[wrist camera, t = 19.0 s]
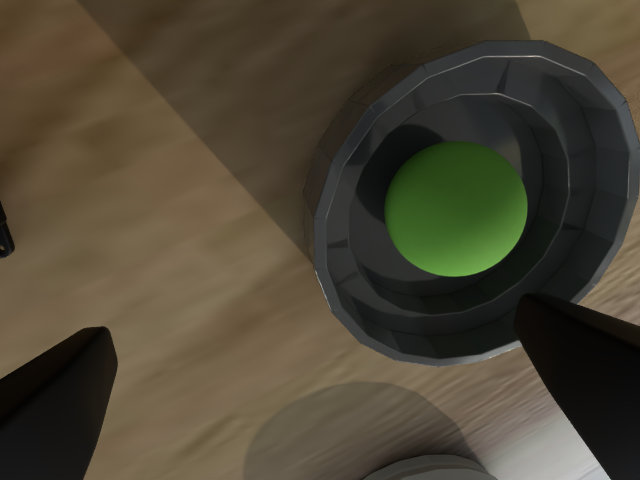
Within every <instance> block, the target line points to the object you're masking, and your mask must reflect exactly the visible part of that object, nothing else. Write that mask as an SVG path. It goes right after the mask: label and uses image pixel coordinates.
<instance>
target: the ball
mask: <svg viewBox="0 0 640 480" xmlns="http://www.w3.org/2000/svg"><path fill="white" fill-rule="evenodd" d="M384 216H385V223H386V227H387V231H388V233H389V236H390V238H391V240H392V242H393V244H394V245H395V247H396V248H397V249H398V251H399V252H400V253H401V254H402V255H403V256H404V257H405V258H406V259H407V260H408V261H409V262H411V263H412V264H413V265H415V266H417V267H419V268H420V269H422V270H425V271H427V272H430V273H433V274H437V275H442V276H456V277H457V276H467V275H471V274H475V273H478V272H481V271H484V270H486V269H488V268H490V267H492V266H493V265H495V264H496V263H498V262H499V261H501V260H502V259H503V258H504V257H505V256H506V255H507V254H508V253H509V252H510V251H511V250H512V249H513V248H514V246H515V245H516V243H517V242H518V240H519V238H520V236H521V234H522V232H523V229H524V226H525V223H526V218H527V196H526V192H525V188H524V185H523V183H522V180H521V178H520V176H519V175H518V173H517V171H516V170H515V169H514V168H513V166H512V165H511V164H510V163H509V162H508V161H507V160H506V159H505V158H504V157H503V156H501V155H500V154H498V153H497V152H496V151H494V150H492V149H490V148H488V147H486V146H483V145H480V144H477V143H472V142H466V141H449V142H443V143H439V144H435V145H432V146H430V147H427V148H425V149H423V150H421V151H419V152H418V153H416V154H415V155H413V156H412V157H411V158H410V159H408V160H407V161H406V162H405V163H404V164H403V165H402V166H401V167H400V169H399V170H398V171H397V173H396V174H395V176H394V177H393V179H392V181H391V183H390V185H389V188H388V191H387V194H386V198H385V206H384Z"/></svg>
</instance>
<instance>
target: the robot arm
mask: <svg viewBox="0 0 640 480" xmlns="http://www.w3.org/2000/svg"><path fill="white" fill-rule="evenodd" d="M6 219H7V218H6V215H5V213H4V210H3V207H2V204H1V202H0V245H1V246H3V247H4V250H1V249H0V258H5V257H7V256H8V255H10V254H11V253H12V252H14V249H15V246H14V242H13V240H12V237H11V234H10V232H9V229H8V226H7V224H6ZM513 327H514V331H515V334H516V336H517V337H518V339H519V341H520V343H521V344H522V346H523V348H524V350H525V351H526V353H527V355H528V357H529V358H530V360H531V362H532V363H533V365H534V367H535V369H536V370H537V372H538V374H539V376H540V377H541V379H542V381H543V382H544V384H545V386H546V387H547V389H548V391H549V392H550V394H551V395H552V397H553V398H554V400H555V401H556V403H557V404H558V405H559V407H560V408H561V410H562V411H563V412H564V414H565V415H566V417H567V418H568V420H569V421H570V422H571V424H572V425H573V427H574V428H575V429H576V431H577V432H578V434H579V435H580V436H581V438H582V439H583V441H584V442H585V444H586V445H587V446H588V448H589V449H590V451H591V452H592V453H593V455H594V456H595V458H596V459H597V461H598V462H599V463H600V465H601V466H602V468H603V469H604V470H605V472H606V473H607V475H608V476H609V478H610V479H611V480H640V326H637V325H635V324H632V323H629V322H626V321H623V320H620V319H617V318H614V317H612V316H609V315H606V314H603V313H600V312H597V311H594V310H592V309H589V308H586V307H583V306H580V305H577V304H574V303H572V302H569V301H566V300H563V299H560V298H557V297H554V296H551V295H549V294H546V293H543V292H530V293H524V294H522V295H521V297H520V298H519V302H518V306H517V310H516V314H515V318H514V322H513ZM117 367H118V361H117V356H116V352H115V348H114V345H113V341H112V337H111V333H110V331H109V329H108V328H106V327H104V326H101V327H89V328H83V329H82V330H80V331H78V332H77V333H75V334H73V335H72V336H70V337H69V338H67V339H65V340H64V341H62V342H60V343H59V344H57V345H55V346H54V347H52V348H51V349H49V350H47V351H46V352H44V353H42V354H41V355H39V356H38V357H36V358H34V359H33V360H31V361H29V362H28V363H26V364H24V365H23V366H21V367H20V368H18V369H16V370H15V371H13V372H11V373H10V374H8V375H7V376H5V377H3V378H2V379H0V480H83V479H84V476H85V474H86V471H87V468H88V466H89V463H90V461H91V458H92V456H93V453H94V450H95V447H96V445H97V442H98V438H99V435H100V432H101V428H102V424H103V421H104V417H105V413H106V409H107V406H108V402H109V398H110V395H111V391H112V387H113V383H114V380H115V376H116V372H117Z"/></svg>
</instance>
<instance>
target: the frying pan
mask: <svg viewBox="0 0 640 480" xmlns="http://www.w3.org/2000/svg"><path fill="white" fill-rule="evenodd" d="M363 480H498V479H496V478H495V477H494V476H493V475H491V474H490V473H489V472H488V471H486V470H485V469H484V468H483V467H481V466H480V465H479V464H477V463H476V462H475V461H473V460H470V459H466V458H463V457H459V456H456V455H423V456H419V457H414V458H410V459H406V460H401V461H397V462H395V463H393V464H391V465H389V466H387V467H384V468H382V469H380V470H378V471H376V472H374V473H371V474H370V475H369V476H367V477H366V478H365V479H363Z"/></svg>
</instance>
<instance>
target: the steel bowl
mask: <svg viewBox="0 0 640 480" xmlns="http://www.w3.org/2000/svg"><path fill="white" fill-rule="evenodd" d="M449 141H466V142H472V143H477V144H480V145H483V146H486V147H488V148H490V149H492V150H494V151H496V152H497V153H498V154H500V155H501V156H503V157H504V158H505V159H506V160H507V161H508V162H509V163H510V164H511V165H512V166H513V168H514V169H515V170H516V171H517V173H518V175H519V176H520V178H521V180H522V183H523V185H524V188H525V192H526V196H527V218H526V223H525V226H524V229H523V232H522V234H521V236H520V238H519V240H518V242H517V243H516V245H515V246H514V248H513V249H512V250H511V251H510V252H509V253H508V254H507V255H506V256H505V257H504V258H503V259H502V260H501V261H499V262H498V263H496V264H495V265H493V266H492V267H490V268H488V269H486V270H484V271H481V272H478V273H475V274H471V275H467V276H457V277H456V276H442V275H437V274H433V273H430V272H427V271H425V270H422V269H420V268H419V267H417V266H415V265H413V264H412V263H411V262H409V261H408V260H407V259H406V258H405V257H404V256H403V255H402V254H401V253H400V252H399V251H398V249H397V248H396V247H395V245H394V244H393V242H392V240H391V238H390V236H389V233H388V231H387V227H386V223H385V216H384V206H385V198H386V194H387V191H388V188H389V185H390V183H391V181H392V179H393V177H394V176H395V174H396V173H397V171H398V170H399V169H400V167H401V166H402V165H403V164H404V163H405V162H406V161H407V160H408V159H410V158H411V157H412V156H413V155H415V154H416V153H418V152H419V151H421V150H423V149H425V148H427V147H430V146H432V145H435V144H439V143H443V142H449ZM639 184H640V142H639V138H638V135H637V132H636V129H635V125H634V122H633V119H632V116H631V112H630V109H629V106H628V103H627V101H626V99H625V97H624V96H623V95H622V94H621V93H620V92H619V91H618V89H617V88H616V87H615V86H614V85H613V84H612V82H611V81H610V80H609V79H608V78H607V77H606V76H605V74H604V73H603V72H602V71H601V70H600V69H599V67H598V66H597V65H596V64H595V63H593V62H592V61H590V60H588V59H586V58H584V57H581V56H579V55H577V54H574V53H572V52H570V51H568V50H565V49H563V48H561V47H558V46H556V45H554V44H552V43H549V42H547V41H543V40H484V41H477V42H470V43H463V44H456V45H449V46H442V47H438V48H435V49H432V50H430V51H427V52H424V53H421V54H419V55H416V56H413V57H411V58H408V59H405V60H403V61H400V62H397V63H395V64H392V65H390V66H389V67H387V68H386V69H385V70H384V71H382V72H381V73H380V74H379V75H377V76H376V77H375V78H374V79H373V80H371V81H370V82H369V83H368V84H366V85H365V86H364V87H363V88H361V89H360V90H359V91H358V92H356V93H355V94H354V95H353V96H351V97H350V98H349V99H348V101H346V102H345V104H344V105H343V107H342V108H341V110H340V111H339V113H338V114H337V116H336V117H335V119H334V120H333V122H332V123H331V125H330V126H329V128H328V129H327V131H326V132H325V133H324V135H323V136H322V138H321V139H320V141H319V142H318V145H317V146H316V149H315V153H314V156H313V159H312V163H311V166H310V170H309V173H308V176H307V180H306V183H305V186H304V190H303V212H304V237H305V241H306V244H307V247H308V250H309V254H310V257H311V260H312V264H313V267H314V270H315V273H316V275H317V278H318V280H319V283H320V285H321V288H322V290H323V293H324V296H325V298H326V301H327V303H328V306H329V308H330V311H331V312H332V313H333V315H334V316H335V317H336V318H337V319H338V320H339V321H340V322H341V323H342V324H343V325H344V326H345V327H346V328H347V330H348V331H349V332H350V333H351V334H352V335H353V336H354V337H355V338H356V339H357V340H358V341H359V342H360V343H361V344H363V345H365V346H367V347H369V348H371V349H373V350H375V351H377V352H379V353H381V354H383V355H385V356H387V357H389V358H391V359H393V360H395V361H400V362H406V363H413V364H420V365H427V366H434V367H444V366H451V365H459V364H467V363H475V362H480V361H483V360H486V359H489V358H491V357H494V356H496V355H499V354H502V353H504V352H507V351H510V350H512V349H515V348H518V347H520V346H522V344H521V343H520V341H519V339H518V337H517V336H516V334H515V331H514V327H513V322H514V318H515V314H516V310H517V306H518V302H519V298H520V297H521V295H522V294H524V293H530V292H543V293H546V294H549V295H551V296H554V297H557V298H560V299H563V300H566V301H569V302H572V303H574V304H578V303H579V302H580V301H581V300H582V299H583V298H584V297H585V296H586V295H587V294H588V293H589V292H590V291H591V290H592V289H593V288H594V287H595V285H597V283H598V282H599V280H600V279H601V277H602V276H603V274H604V272H605V271H606V269H607V268H608V266H609V265H610V263H611V262H612V260H613V258H614V257H615V255H616V254H617V252H618V251H619V249H620V247H621V246H622V243H623V241H624V238H625V235H626V232H627V229H628V226H629V223H630V221H631V218H632V215H633V212H634V209H635V206H636V203H637V200H638V196H639Z"/></svg>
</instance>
